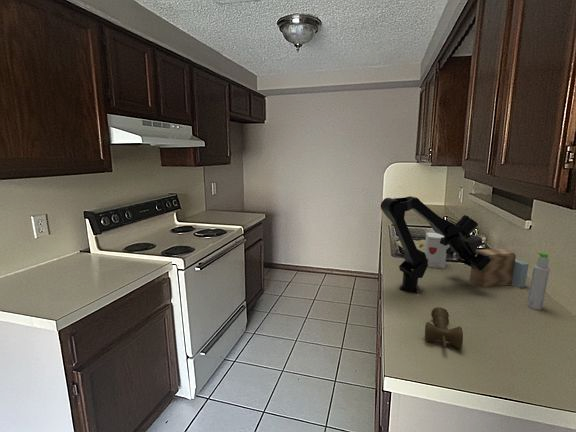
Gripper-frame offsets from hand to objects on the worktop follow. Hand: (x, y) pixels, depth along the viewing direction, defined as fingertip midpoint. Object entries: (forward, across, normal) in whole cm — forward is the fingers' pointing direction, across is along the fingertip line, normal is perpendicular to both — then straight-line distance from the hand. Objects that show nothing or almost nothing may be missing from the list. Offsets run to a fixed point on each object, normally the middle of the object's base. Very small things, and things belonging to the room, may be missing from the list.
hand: (477, 268), depth 132 cm
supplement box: (+3, +23, +7) cm, 24 cm away
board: (+16, 0, -7) cm, 17 cm away
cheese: (0, +35, +10) cm, 37 cm away
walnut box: (+10, 0, 0) cm, 10 cm away
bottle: (+8, -22, +1) cm, 23 cm away
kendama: (-23, -32, +34) cm, 52 cm away
